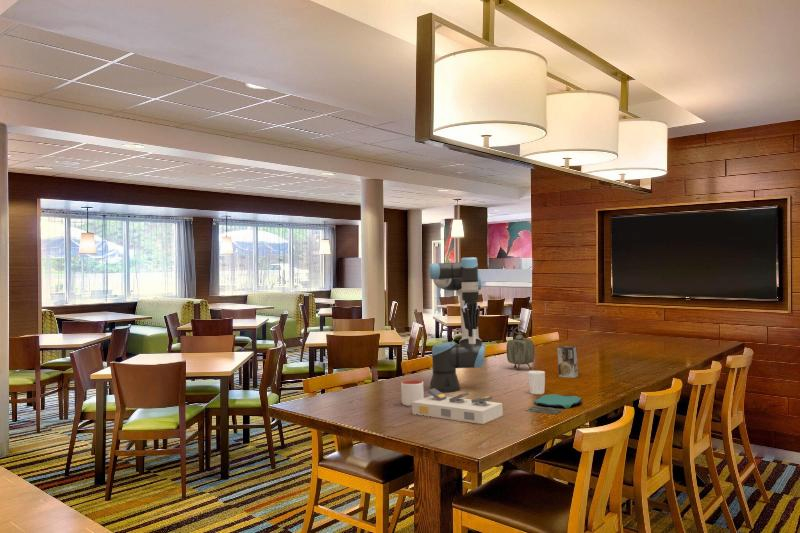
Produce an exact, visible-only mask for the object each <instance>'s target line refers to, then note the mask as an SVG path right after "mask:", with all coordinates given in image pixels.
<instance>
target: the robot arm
mask: <svg viewBox="0 0 800 533" xmlns="http://www.w3.org/2000/svg"><path fill="white" fill-rule="evenodd" d="M428 267H429V269H428V270H429V278H430V279H431V280H432V282H433V283H434V285H435V286H436V287H437V288H439V289H441V290H445V291H456V294H457V295H458V297H459V303H460V304H459V305H460V306H459V308H460V325H461V326H460V328H461V329H460V330H461V339H460V340H459V341H458V344H456V343H455V341H446V342H445V341H444V342H439V343H437V344H435V345H433V346H432V348H431V351H432V352H431V356H432V357H431V358H432V375H431V376H432V377H431V379H430V384H429V390H430V389H433V388H435V389H437V390H438V391H440V392H441V393H450V392H449V391H452V392H456V391H460V390H461V384H460V381H459V378H458V375H457V369H477V368H482V367H484V364H485V354H486V344H485V343H483V340H482V339H481V338H480V337H479V318H480V310H481V306H480V305H478V301H479V299H480V295H479V293H480V290H481V289H482V281H481V280H482V279H481V275H480V271H479V270H478V269H479V268H478V267H479V264H478V258H477V257H473V256H471V257H470V256H469V257H462V258H461V260H460V262H459V261H458V262H439V263H438V262H435V263H430V264H429V266H428Z"/></svg>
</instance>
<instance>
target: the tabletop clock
mask: <svg viewBox="0 0 800 533" xmlns="http://www.w3.org/2000/svg"><path fill="white" fill-rule="evenodd" d="M517 329H522V330H523V332H521V331H518V332H516V330H517ZM513 330H514V333H515V334H516V336H515V338H513V339H509V340H508V341H507V342H506V360H507V361H508V363H510V364H512V365H514V366H513V368H514V369H517V370H518V371H520V370H521V368H520V366H521V365H527V366H528V367H529V371H533V367H532V366H530V364H531V363H534V361H535V356H536V354H535V345H534V341H533V340H532V339H529V338H525V337H524V335H523V334H524V333H525V329H524V327H521V326H517V327H515V328H514V329H513ZM517 365H518V367H517Z"/></svg>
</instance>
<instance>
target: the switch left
mask: <svg viewBox="0 0 800 533" xmlns="http://www.w3.org/2000/svg"><path fill="white" fill-rule="evenodd" d="M427 394H428V395H430V396H433V397H435V398H436V399H438V400H439V401H441V400H444V399H446V398H447V397H448V396H447V395H446V394H444V392H440V391H438V390H437V389H435V388H433V389H430V388H429V389H427Z"/></svg>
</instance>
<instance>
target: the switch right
mask: <svg viewBox="0 0 800 533" xmlns="http://www.w3.org/2000/svg"><path fill="white" fill-rule="evenodd" d="M490 400H493V396H492V395H488V396H487V395H486V396H481V397H475V398H473V399H471V401H472V403H477V402H485V401H488V402H490Z"/></svg>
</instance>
